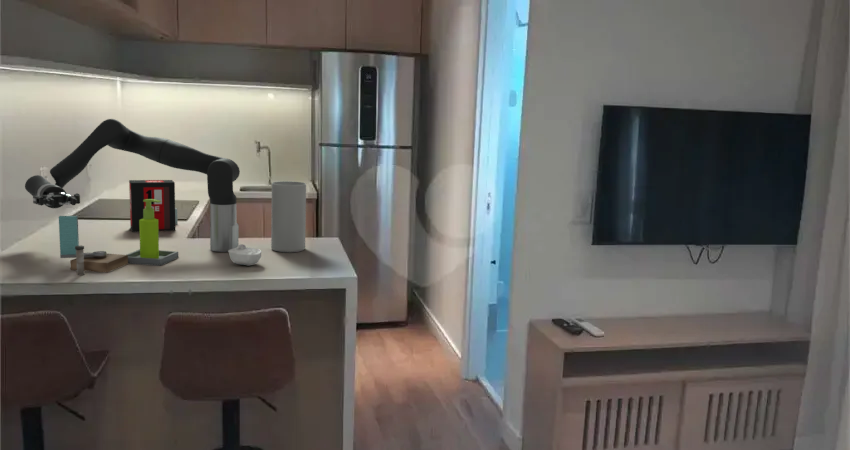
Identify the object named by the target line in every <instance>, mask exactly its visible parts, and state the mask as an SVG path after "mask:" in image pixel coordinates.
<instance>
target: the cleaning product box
mask: <svg viewBox="0 0 850 450" xmlns="http://www.w3.org/2000/svg"><path fill="white" fill-rule="evenodd" d="M128 182H129V186H128V187H129V188H128V191H129V212H130V213H129V217H130V218H129V219H130V220H129V221H130V222H129V223H130V230H131V232H132V233H140V228H139V220H140V219H143V209H145V208H146V202H143V200H145V199H156V200H160V201H161V202H159V203H156V202H151V208H153V209H154V218H155V219H158V232H165V231H167V232H169V231H170V232H171V231H172V232H173V231H176V225H175V208H176V186H175V185H176V184H175V183H176V182H174V181H173V179H143V180H141V179H138V180H137V179H133V180H132V179H131V180H129V181H128Z"/></svg>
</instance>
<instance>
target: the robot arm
mask: <svg viewBox="0 0 850 450" xmlns="http://www.w3.org/2000/svg"><path fill="white" fill-rule="evenodd" d="M106 146H108V147H109V148H112V149H114V150H119V151H123V152H124V151H125V152H128V153H132V154H136V155H139V156H142V157H144V158H146V159H148V160H151V161H153V162H155V163H159V164H161V165H164V166H167V167H170V168H173V169H179V170H183V171H191V172H196V173H197V172H198V173H201V174H205V175H206V179H207V183H206V185H207V195H208V198H209V220H210V221H209V227H210V228H209V240H210V241H209V246H210V251H213V252H220V253H225V252H228V250H230V249H233V248H237V246H239V223H237V196H236V195H235V193H234V184H233V183H234V182H235V181H237V180H238V178H239V177H240V167H239V165H238V164H237V163H236V162H235V161H234V160H232V159H230V158H226V157H222V156H221V157H220V156H217V155H213V154H209V153H205V152H203V151H200V150H198V149H195V148H193V147H190V146H188V145H185V144H183V143H180V142H178V141H174V140H171V139H168V138H164V137H159V136H158V137H157V136H148V135H144V134H141V133H138V132H136V131H133V130H131V129H130V128H128V127H126V125H124V124H123V123H122V122H121V121H119V120H118V119H116V118H115V119H114V118H107V119H105V120H103V121H102V122H101V123H100V124H99V125H97V127H96V128H95V129H93V131H92V132H91V133H90V134H89V135H88V136H87V137H86V138H85V139H84V140H83V141H82V142H81V143H80V144H79V145H78V146H77V147H76V148H75V149H74V150H73V151H72V152H71V153H70V154H68V155H67V156H66V157H65V158H63V159H62V160H61V161H59V162H58V163H57V164H55V165H54V166H53V167H51V168H50V170H49V174H50V176H51V177H52V178H53V180H54V182H55V183H51V182H50V181H48V180H47V179H46V178H45V177H44V176H42V175H40V174H39V175H38V174H36V175H33V176H30V177H29V178H28V179H26V181H25V184H24V188H25V190H26V192H27V193H29V194H30V195H31V196H32V203H33V204H35V205H38V206H45V207H48V208H50V209H59V208H61V207H63V206H65V205H72V206H76V205H77V204H81V195H80V193H74V194H73V195H71V194H70V193H67V192H66V191H65V189H64V188H65V186H66V185H67V184H68V183H69V182H71V181H72V180H73V179H74V178H75V177H77V176H78V175H79V174H81V173H82V172H83V171H84V169H85V168H86V167H87V166H88V164H89V163H90V161H91V160H92V159H93V157H94V156H95V155H96V154H97V153H98V152H99V151H101V150H102V149H103V148H105V147H106ZM228 253H229V252H228Z"/></svg>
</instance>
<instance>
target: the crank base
mask: <svg viewBox="0 0 850 450" xmlns="http://www.w3.org/2000/svg"><path fill="white" fill-rule="evenodd" d="M75 249H76V258H72V259H71V260H70V261H69V262H70V270H71V271H76V275H77V276H85V272H97V273H110V272H112V271H114V270H116V269H119V268H122V267H124V266H127V265H129V263H128V255H126V254H120V253H119V254H118V253H107V257H104V258H93V257H86V258H84V253H85V252H84V249H85V245H79V246H75Z"/></svg>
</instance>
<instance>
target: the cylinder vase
mask: <svg viewBox="0 0 850 450" xmlns="http://www.w3.org/2000/svg"><path fill="white" fill-rule="evenodd" d="M306 212H307V183H306V182H301V181H288V180H287V181H285V180H284V181H272V182H271V225H270V226H271V227H270V228H271V232H270V233H271V237H270V238H271V239H270V241H271V242H270V243H271V244H270V246H271V250H273V251H275V252H279V253H298V252H299V253H300V252H303V251H304V250H305V248H306V227H307V226H306V220H307V219H306V214H307V213H306Z"/></svg>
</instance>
